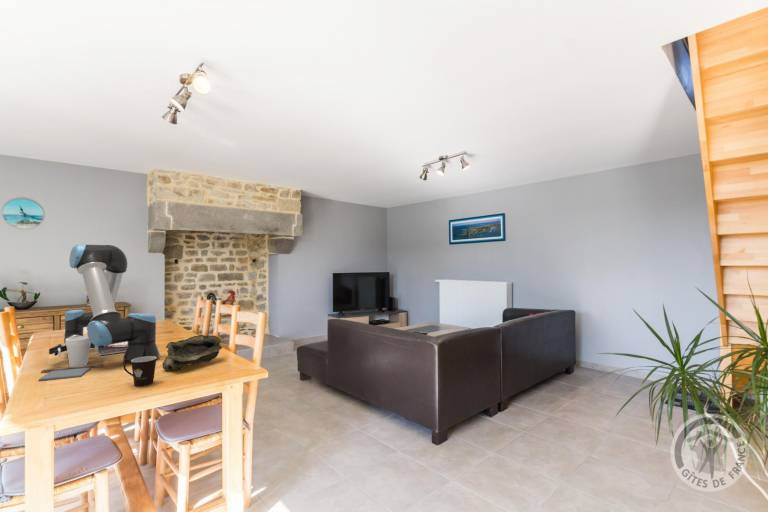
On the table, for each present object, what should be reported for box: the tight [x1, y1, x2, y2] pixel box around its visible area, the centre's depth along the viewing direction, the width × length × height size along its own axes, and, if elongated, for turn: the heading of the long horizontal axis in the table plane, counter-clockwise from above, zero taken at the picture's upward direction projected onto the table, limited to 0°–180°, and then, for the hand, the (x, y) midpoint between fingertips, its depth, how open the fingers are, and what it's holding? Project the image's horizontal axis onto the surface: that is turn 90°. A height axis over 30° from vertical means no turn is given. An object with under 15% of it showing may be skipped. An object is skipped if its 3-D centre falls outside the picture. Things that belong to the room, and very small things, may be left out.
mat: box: [38, 367, 92, 382], centre depth 158 cm, size 14×12×1 cm
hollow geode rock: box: [161, 334, 223, 372], centre depth 175 cm, size 28×13×15 cm
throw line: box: [40, 363, 104, 374], centre depth 166 cm, size 22×2×1 cm, turn 113°
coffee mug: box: [123, 356, 157, 388], centre depth 148 cm, size 12×9×10 cm
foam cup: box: [66, 335, 91, 367], centre depth 172 cm, size 10×9×13 cm
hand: (79, 350), depth 170 cm, fingers open, 13 cm apart
